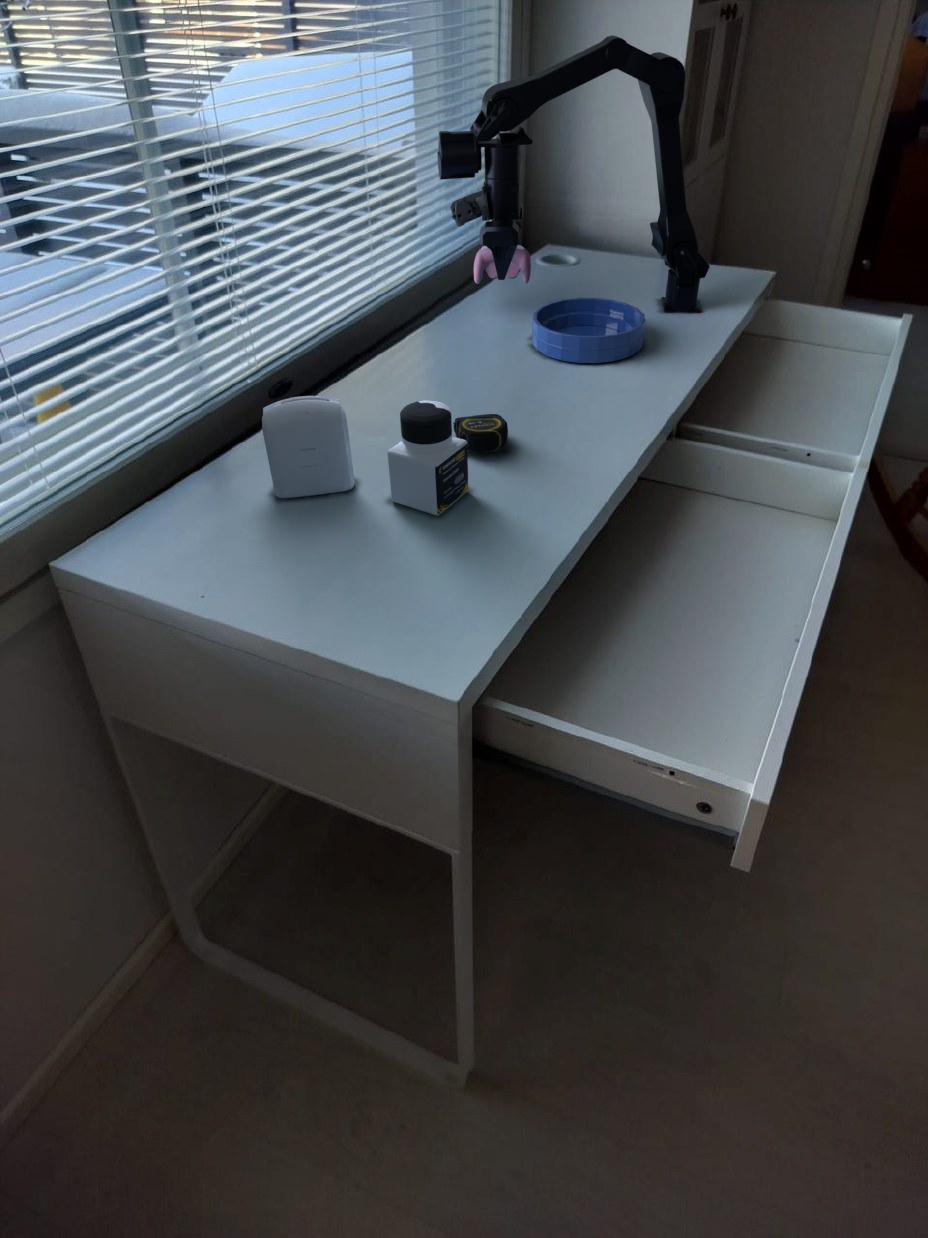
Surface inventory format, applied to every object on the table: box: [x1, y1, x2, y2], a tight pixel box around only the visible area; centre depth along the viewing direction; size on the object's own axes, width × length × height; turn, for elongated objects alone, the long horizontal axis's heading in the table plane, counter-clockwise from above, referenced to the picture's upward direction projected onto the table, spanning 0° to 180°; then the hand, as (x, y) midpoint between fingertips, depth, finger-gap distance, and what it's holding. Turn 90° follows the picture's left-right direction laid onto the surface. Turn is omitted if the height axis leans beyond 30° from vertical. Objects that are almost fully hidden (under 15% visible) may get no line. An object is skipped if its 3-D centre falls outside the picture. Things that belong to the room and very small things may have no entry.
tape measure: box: [452, 413, 509, 454], centre depth 120 cm, size 7×7×4 cm
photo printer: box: [261, 395, 356, 499], centre depth 109 cm, size 10×4×12 cm, turn 100°
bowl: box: [531, 297, 646, 364], centre depth 147 cm, size 18×18×4 cm
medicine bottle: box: [386, 399, 469, 516], centre depth 107 cm, size 7×7×12 cm
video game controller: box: [473, 244, 532, 285], centre depth 153 cm, size 10×5×7 cm, turn 84°
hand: (502, 273), depth 154 cm, fingers closed on video game controller, 6 cm apart
